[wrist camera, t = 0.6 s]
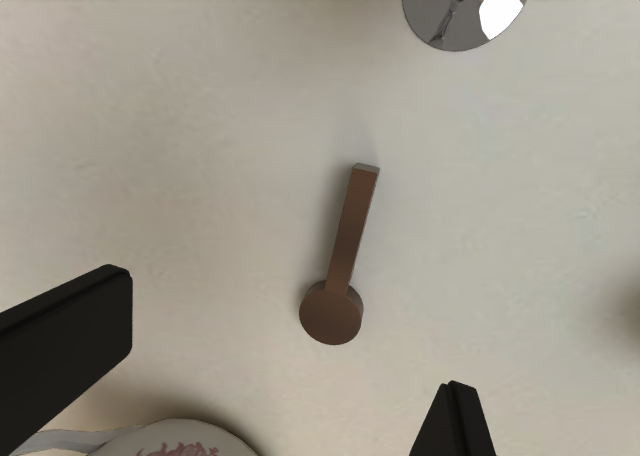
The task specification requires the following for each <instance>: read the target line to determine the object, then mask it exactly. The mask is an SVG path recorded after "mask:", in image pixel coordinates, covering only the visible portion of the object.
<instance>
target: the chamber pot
mask: <svg viewBox="0 0 640 456" xmlns="http://www.w3.org/2000/svg"><path fill="white" fill-rule="evenodd" d="M53 448H55V449H63V450H71V451H76V452H81V453H86V454H88V455H87V456H258V455H257V454H256V453H255V452H254V451H253V450H252V449H251V448H250V447H248V446H247V445H246V444H245V443H244V442H243V441H242V440H241V439H239V438H237V437H236V436H234V435H232V434H230V433H229V432H227V431H225V430H224V429H222V428H220V427H218V426H215V425H212V424H209V423H206V422H203V421H200V420H197V419H181V418H172V419H165V420H162V421H158V422H155V423H152V424H148V425H146V426H141V425H134V426H129V427H124V428H119V429H113V430H106V431H96V432H85V431H74V430H62V429H50V430H45V431H41V432H36V433H35V434H34V435H33V436H31V437H30V438H29V439H28V440H27V441H26V442H24V443H23V444H22V445H21V446H20V447H18V448H17V449H16V450H15V451H14V452H12V453H11V454H10V455H9V456H19V455H23V454H28V453H33V452H38V451H43V450H48V449H53Z"/></svg>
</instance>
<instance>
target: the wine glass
mask: <svg viewBox="0 0 640 456" xmlns="http://www.w3.org/2000/svg"><path fill="white" fill-rule="evenodd" d="M402 2H403V9H404V12H405V15H406V19H407V21H408V23H409V25H410V27H411V28H412V30H413V31H414V32H415V33H416V35H417V36H418V37H419V38H420V39H422V40H423V41H424V42H425V43H427V44H429V45H431V46H432V47H434V48H438V49H441V50H446V51H463V50H468V49H472V48H476V47H478V46H480V45H483V44H485V43H487V42H489V41H490V40H492V39H493V38H495V37H496V36H498V35H499V34H500V33H501V32H503V31H504V30H505V29H506V28H507V27H508V26H509V25H510V24H511V23H512V21H513V20H514V19H515V18H516V17H517V15H518V14H519V12H520V11H521V9H522V8H523V6H524V4H525V2H526V0H402Z"/></svg>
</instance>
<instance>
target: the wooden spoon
mask: <svg viewBox="0 0 640 456" xmlns="http://www.w3.org/2000/svg"><path fill="white" fill-rule="evenodd" d="M379 171H380V168H378V167H373V166H369V165H365V164H360V163H358V164H357V165H356V166H355V167H353V169H352V174H351V178H350V182H349V186H348V191H347V195H346V199H345V203H344V208H343V212H342V216H341V220H340V225H339V229H338V233H337V237H336V242H335V246H334V250H333V254H332V259H331V263H330V267H329V271H328V275H327V280H323V281H320V282H318V283H316V284H314V285H313V286H312V287H311V288H310V289H309V291H308V292H307V294H306V296H305V298H304V299H303V301H302V303H301V305H300V309H299V317H300V321H301V324H302V326H303V328H304V330H305V331H306V332H307V333H308V334H309V335H310V336H311V337H312V338H314V339H315V340H317V341H319V342H321V343H324V344H328V345H340V344H344V343H347V342H349V341H350V340H352V339H353V338H354V337H355V336H356V335H357V334H358V332H359V330H360V327H361V322H362V316H363V303H362V300H361V298H360V296H359V294H358V293H357V292H356V291H355V290H354V289H353V288H352V287H351V286H350V285H349V283H350V280H351V276H352V273H353V269H354V265H355V261H356V258H357V254H358V250H359V246H360V242H361V239H362V235H363V231H364V227H365V224H366V220H367V216H368V212H369V209H370V205H371V201H372V197H373V193H374V190H375V186H376V182H377V178H378V175H379Z"/></svg>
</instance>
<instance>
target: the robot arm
mask: <svg viewBox="0 0 640 456" xmlns="http://www.w3.org/2000/svg"><path fill="white" fill-rule="evenodd" d="M132 307H133V280H132V277H131V276H130V273H129V271H128V270H126V269H123V268H120V267H117V266H115V265H112V264H106V265H103V266H101V267H99V268H97V269H94V270H92V271H90V272H88V273H86V274H84V275H81V276H79V277H77V278H75V279H73V280H71V281H68V282H66V283H64V284H62V285H60V286H58V287H55V288H53V289H51V290H49V291H47V292H45V293H42V294H40V295H38V296H36V297H34V298H32V299H29V300H27V301H25V302H23V303H21V304H19V305H16V306H14V307H12V308H10V309H8V310H6V311H3V312H1V313H0V456H9V455H10V454H11V453H12V452H14V451H15V450H16V449H17V448H18V447H20V446H21V445H22V444H23V443H24V442H26V441H27V440H28V439H29V438H30V437H31V436H33V435H34V434H35V433H36V432H37V431H39V430H40V429H41V428H42V427H43V426H45V425H46V424H47V423H48V422H49V421H51V420H52V419H53V418H54V417H55V416H57V415H58V414H59V413H60V412H61V411H63V410H64V409H65V408H66V407H67V406H69V405H70V404H71V403H72V402H73V401H74V400H76V399H77V398H78V397H79V396H80V395H82V394H83V393H84V392H85V391H86V390H88V389H89V388H90V387H91V386H92V385H94V384H95V383H96V382H97V381H98V380H100V379H101V378H102V377H103V376H104V375H106V374H107V373H108V372H109V371H110V370H111V369H113V368H114V367H115V366H116V365H117V364H119V363H120V362H121V361H122V360H123V359H125V358H126V357H127V356H128V354H129V353H130V351H131V349H132ZM409 456H496V453H495V450H494V447H493V443H492V440H491V437H490V433H489V430H488V427H487V423H486V420H485V417H484V413H483V410H482V407H481V403H480V400H479V397H478V393H477V391H476V389H475V388H474V387H471V386H468V385H465V384H462V383H459V382H456V381H453V380H451V381H450V382H449V383H448V385H447V384H444V383H442V384H441V385H440V387H439V389H438V391H437V394H436V396H435V398H434V400H433V402H432V405H431V407H430V409H429V411H428V414H427V416H426V418H425V420H424V422H423V425H422V427H421V429H420V431H419V433H418V436H417V438H416V440H415V442H414V444H413V447H412V449H411V451H410V454H409Z"/></svg>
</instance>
